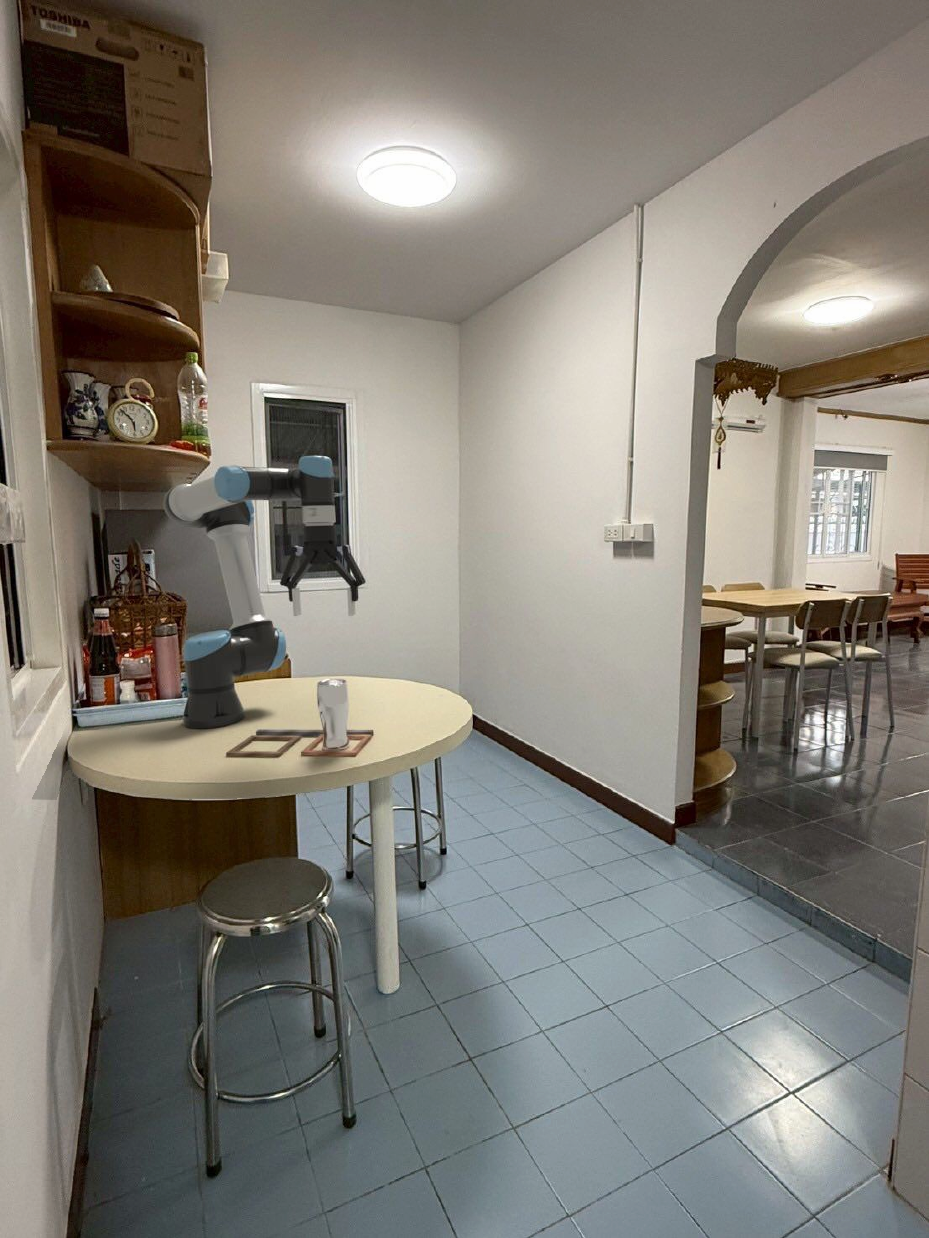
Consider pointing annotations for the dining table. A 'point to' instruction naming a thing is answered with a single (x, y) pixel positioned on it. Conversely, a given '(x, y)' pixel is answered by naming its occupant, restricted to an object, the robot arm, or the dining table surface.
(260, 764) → the dining table surface
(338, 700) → the beer glass
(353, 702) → the dining table surface
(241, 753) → the double square frame
